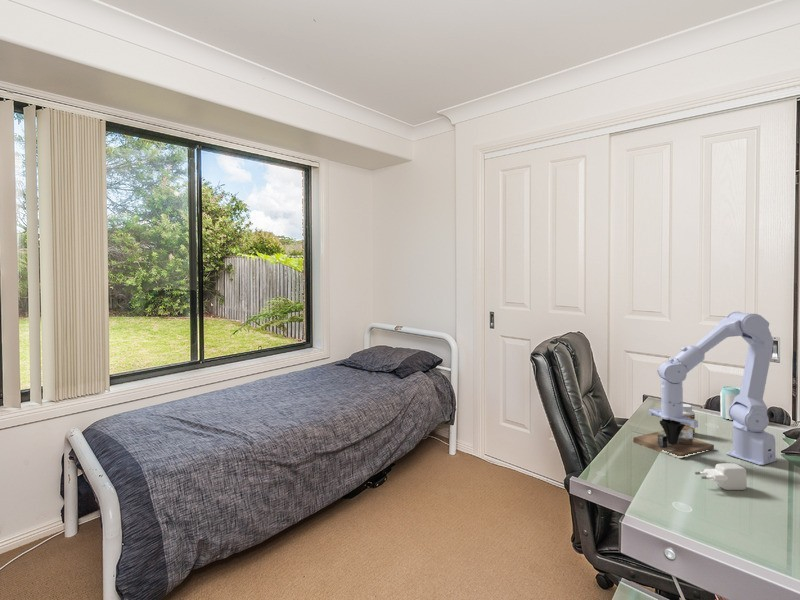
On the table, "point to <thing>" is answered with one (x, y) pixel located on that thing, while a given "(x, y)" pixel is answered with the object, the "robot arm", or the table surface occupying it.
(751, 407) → the robot arm
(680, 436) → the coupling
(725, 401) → the can
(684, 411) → the supplement bottle
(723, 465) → the power adapter
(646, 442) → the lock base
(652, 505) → the table surface
